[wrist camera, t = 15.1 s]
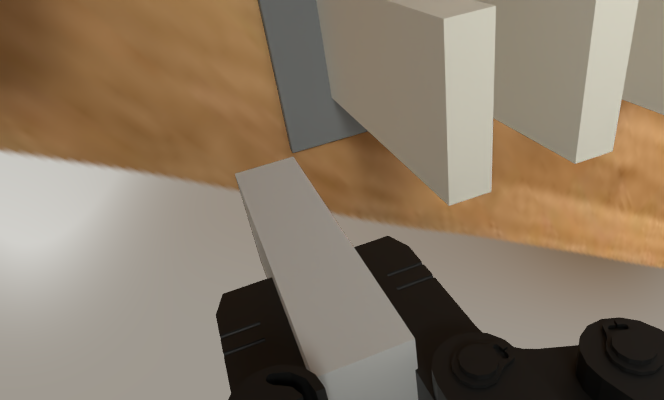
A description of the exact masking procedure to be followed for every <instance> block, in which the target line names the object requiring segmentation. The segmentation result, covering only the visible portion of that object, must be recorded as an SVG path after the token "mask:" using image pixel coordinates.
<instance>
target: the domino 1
mask: <svg viewBox="0 0 664 400" xmlns="http://www.w3.org/2000/svg"><path fill="white" fill-rule="evenodd" d="M316 2H317V9H318V15H319V21H320V27H321V34H322V40H323V46H324V52H325V59H326V65H327V71H328V77H329V84H330V90H331V96H332V98H333V99H334V100H335V101H336V102H337V103H338V104H339V105H340V106H341V107H342V108H343V109H345V110H346V111H347V112H348V113H349V114H350V115H351V116H352V117H353V118H354V119H355V120H357V121H358V122H359V123H360V124H361V125H362V126H363V127H364V128H365V129H366V130H367V131H368V132H370V133H371V134H372V135H373V136H374V137H375V138H376V139H377V140H378V141H379V142H380V143H381V144H383V145H384V146H385V147H386V148H387V149H388V150H389V151H390V152H391V153H392V154H393V155H394V156H396V157H397V158H398V159H399V160H400V161H401V162H402V163H403V164H404V165H405V166H406V167H407V168H409V169H410V170H411V171H412V172H413V173H414V174H415V175H416V176H417V177H418V178H419V179H420V180H422V181H423V182H424V183H425V184H426V185H427V186H428V187H429V188H430V189H431V190H432V191H434V192H435V193H436V194H437V195H438V196H439V197H440V198H441V199H442V200H443V201H444V202H445V203H447V204H448V205H449V206H450V205H453V204H456V203H459V202H462V201H465V200H468V199H471V198H474V197H477V196H480V195H483V194H486V193H489V192H491V183H492V144H493V105H494V65H495V26H496V6H495V5H491V4H487V3H483V2H479V1H474V0H316Z"/></svg>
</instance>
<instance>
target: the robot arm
mask: <svg viewBox="0 0 664 400" xmlns="http://www.w3.org/2000/svg"><path fill="white" fill-rule="evenodd" d="M235 176H236V179H237V183H238V186H239V189H240V193H241V196H242V199H243V203H244V206H245V210H246V213H247V216H248V220H249V223H250V226H251V230H252V233H253V236H254V240H255V243H256V247H257V250H258V253H259V256H260V260H261V263H262V265H263V268H264V271H265V274H266V277H267V279H265V280H262V281H259V282H256V283H253V284H251V285H248V286H245V287H242V288H239V289H236V290H233V291H230V292H227V293H224V294H223V295H222V298H221V301H220V304H219V308H218V310H217V313H216V318H217V323H218V328H219V333H220V337H221V344H222V349H223V353H224V359H225V364H226V369H227V374H228V380H229V385H230V390H231V395H230V397H229V399H228V400H664V331H662V330H660V329H658V328H655V327H653V326H650V325H648V324H646V323H643V322H641V321H637V320H631V319H625V318H611V319H610V318H609V319H601V320H599V321H597V322H595V323H593V324H590V325H588V326H587V327H586V329H585V330H584V332H583V333H582V334H581V336H580V340H579V345H578V346H566V347H556V348H544V349H521V348H516V347H513V346H511V345H510V344H509V343H508V342H507V341H505V340H503V339H501V338H498V337H496V336H493V335H491V334H488V333H482V332H481V331H480V330H479V329H478V328H477V327H476V326H475V325H474V323H473V322H472V321H471V320H470V319H469V317H468V316H467V315H466V314H465V313H464V312H463V310H461V308H460V307H459V306H458V304H457V303H456V302H455V301H454V300H453V298H452V297H451V296H450V295H449V294H448V293H447V291H446V290H445V289H444V288H443V287H442V285H441V284H440V283H439V282H438V281H437V279H436V278H433V276H432V274H431V272H430V271H429V270H428V269H427V268H426V266H424V265H422V263H421V261H420V259H419V258H418V257H417V256H416V255H415V254H414V252H413V251H412V250H411V249H410V247H409V246H407V245H405V244H403V243H401V242H399V241H397V240H395V239H393V238H391V237H390V236H386V237H383V238H380V239H377V240H375V241H371V242H368V243H366V244H363V245H360V246H357V247H353V245H352V244H351V242H350V241H349V239H348V238H347V236H346V235H345V233H344V232H343V230H342V229H341V227H340V226H339V224H338V223H337V221H336V220H335V218H334V217H333V215H332V214H331V212H330V211H329V209H328V208H327V206H326V205H325V203H324V202H323V200H322V199H321V197H320V196H319V194H318V193H317V191H316V190H315V188H314V187H313V185H312V184H311V182H310V181H309V179H308V178H307V176H306V175H305V173H304V172H303V170H302V169H301V167H300V166H299V164H298V163H297V161H296V160H295V158H294V157H290V158H287V159H283V160H280V161H276V162H273V163H270V164H266V165H263V166H259V167H256V168H253V169H249V170H246V171H242V172H239V173H236V174H235Z"/></svg>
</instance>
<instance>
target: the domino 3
mask: <svg viewBox="0 0 664 400" xmlns="http://www.w3.org/2000/svg"><path fill="white" fill-rule="evenodd" d="M622 99H623V100H625V101H628V102H631V103H633V104H636V105H639V106H641V107H644V108H647V109H649V110H652V111H655V112H657V113H660V114H663V115H664V0H639V1H638V7H637V13H636V19H635V25H634V30H633V36H632V42H631V48H630V54H629V59H628V65H627V71H626V77H625V83H624V88H623V94H622Z"/></svg>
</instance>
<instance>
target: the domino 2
mask: <svg viewBox="0 0 664 400" xmlns="http://www.w3.org/2000/svg"><path fill="white" fill-rule="evenodd" d="M474 1H479V2H483V3H487V4H491V5H495V6H496V26H495V65H494V105H493V118H494V119H496V120H498V121H500V122H501V123H503V124H505V125H507V126H508V127H510V128H512V129H514V130H516V131H517V132H519V133H521V134H523V135H525V136H526V137H528V138H530V139H532V140H533V141H535V142H537V143H539V144H541V145H542V146H544V147H546V148H548V149H550V150H551V151H553V152H555V153H557V154H559V155H560V156H562V157H564V158H566V159H567V160H569V161H571V162H573V163H575V164H576V163H579V162H582V161H585V160H588V159H591V158H594V157H597V156H600V155H603V154H606V153H609V152H612V151H613V146H614V141H615V135H616V129H617V123H618V117H619V112H620V106H621V100H622V94H623V88H624V83H625V77H626V71H627V65H628V59H629V54H630V48H631V42H632V36H633V30H634V25H635V19H636V13H637V7H638V1H639V0H474Z"/></svg>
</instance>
